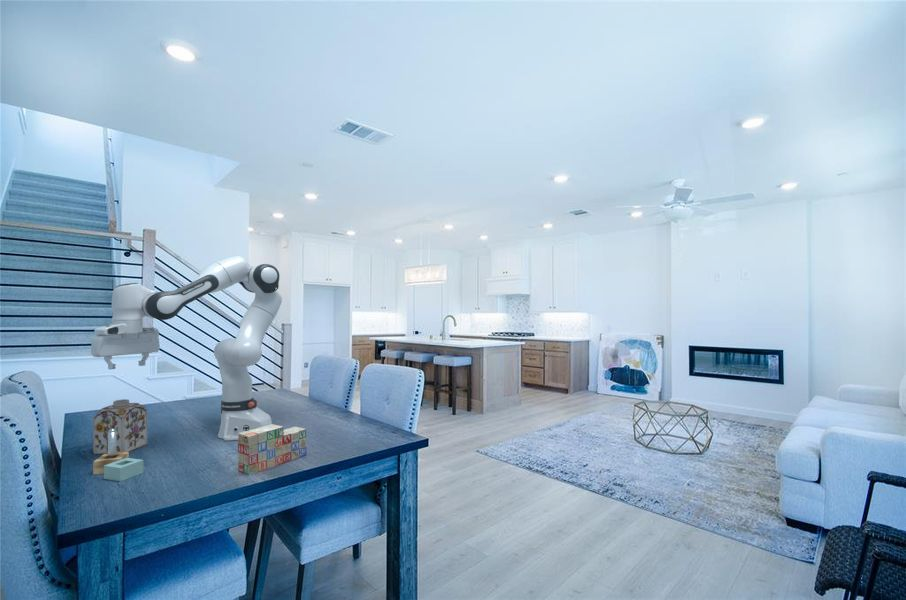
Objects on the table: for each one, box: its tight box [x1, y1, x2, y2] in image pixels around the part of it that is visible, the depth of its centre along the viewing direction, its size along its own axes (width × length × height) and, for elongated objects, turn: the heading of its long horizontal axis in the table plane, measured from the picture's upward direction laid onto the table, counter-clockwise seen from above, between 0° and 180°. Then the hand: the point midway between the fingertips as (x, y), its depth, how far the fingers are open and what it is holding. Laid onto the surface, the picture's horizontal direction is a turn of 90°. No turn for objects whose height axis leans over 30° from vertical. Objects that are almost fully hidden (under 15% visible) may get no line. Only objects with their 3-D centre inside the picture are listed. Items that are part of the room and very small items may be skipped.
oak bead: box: [92, 452, 130, 475], centre depth 139 cm, size 7×7×4 cm
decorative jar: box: [92, 399, 148, 455], centre depth 158 cm, size 12×12×18 cm
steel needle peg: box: [108, 428, 116, 458], centre depth 139 cm, size 2×2×13 cm
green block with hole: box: [103, 457, 144, 482], centre depth 133 cm, size 7×7×4 cm
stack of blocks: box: [237, 423, 308, 476], centre depth 143 cm, size 21×6×12 cm, turn 146°
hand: (127, 367), depth 152 cm, fingers open, 8 cm apart
